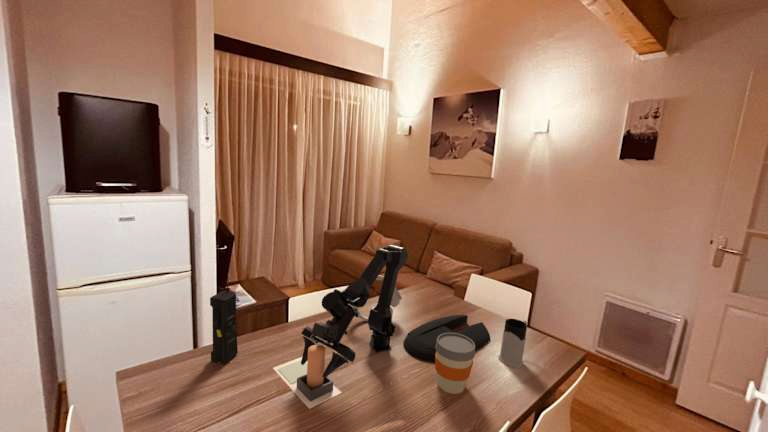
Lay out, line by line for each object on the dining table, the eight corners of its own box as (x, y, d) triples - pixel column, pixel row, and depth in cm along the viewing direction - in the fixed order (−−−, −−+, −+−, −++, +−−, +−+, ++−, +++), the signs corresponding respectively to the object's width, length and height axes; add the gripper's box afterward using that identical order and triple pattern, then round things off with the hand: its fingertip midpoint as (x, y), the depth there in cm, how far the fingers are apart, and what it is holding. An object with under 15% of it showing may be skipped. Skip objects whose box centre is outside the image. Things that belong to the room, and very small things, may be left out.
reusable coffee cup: (443, 367, 120) (448, 328, 118) (476, 384, 112) (482, 342, 110) (424, 384, 110) (428, 341, 108) (459, 403, 103) (465, 358, 100)
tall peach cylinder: (320, 381, 106) (322, 343, 104) (325, 392, 102) (327, 352, 99) (304, 385, 104) (306, 346, 102) (308, 396, 99) (310, 355, 97)
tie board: (341, 395, 102) (342, 383, 101) (309, 412, 95) (309, 399, 94) (302, 359, 119) (303, 348, 118) (272, 370, 111) (272, 359, 110)
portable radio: (224, 366, 111) (224, 294, 107) (208, 363, 112) (207, 291, 108) (239, 353, 119) (239, 285, 115) (223, 350, 120) (223, 283, 116)
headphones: (386, 333, 149) (344, 314, 141) (380, 323, 157) (340, 305, 149) (410, 292, 149) (370, 271, 141) (403, 285, 157) (364, 264, 149)
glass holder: (494, 359, 128) (499, 322, 125) (510, 346, 138) (516, 312, 135) (516, 370, 122) (523, 331, 119) (532, 356, 132) (538, 320, 129)
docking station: (388, 341, 135) (389, 329, 134) (451, 316, 162) (453, 306, 161) (436, 373, 117) (438, 360, 116) (499, 339, 144) (500, 328, 143)
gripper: (306, 302, 107) (276, 349, 100) (351, 322, 97) (321, 375, 90) (323, 317, 115) (296, 361, 108) (366, 337, 104) (340, 387, 97)
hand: (312, 370), depth 100 cm, fingers open, 9 cm apart
